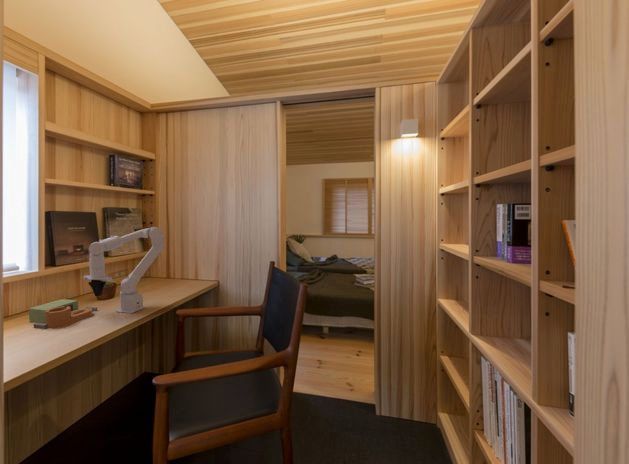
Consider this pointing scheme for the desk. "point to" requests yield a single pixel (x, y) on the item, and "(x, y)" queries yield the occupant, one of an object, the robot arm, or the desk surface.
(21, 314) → the desk surface
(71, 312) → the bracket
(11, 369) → the desk surface
